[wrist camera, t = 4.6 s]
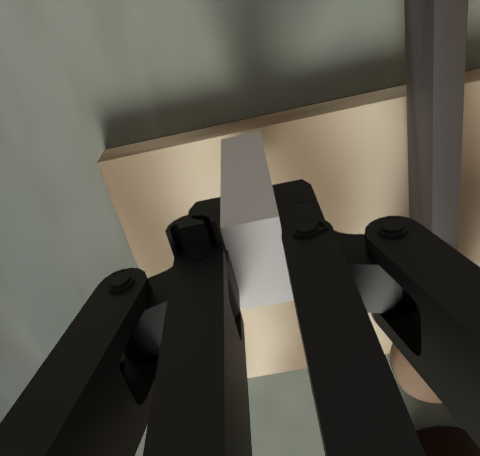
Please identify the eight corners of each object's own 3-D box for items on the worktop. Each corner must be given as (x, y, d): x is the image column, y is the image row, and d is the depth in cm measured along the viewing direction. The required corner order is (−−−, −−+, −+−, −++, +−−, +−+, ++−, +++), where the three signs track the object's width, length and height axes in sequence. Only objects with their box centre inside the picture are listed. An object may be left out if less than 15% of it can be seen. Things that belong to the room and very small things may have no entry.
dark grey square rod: (370, 342, 24) (397, 411, 20) (340, -2, 16) (378, 9, 12) (470, 324, 24) (517, 392, 20) (494, -38, 15) (581, -38, 12)
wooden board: (188, 368, 27) (186, 390, 26) (104, 149, 20) (96, 163, 19) (682, 280, 25) (710, 298, 24) (782, 2, 18) (829, 6, 17)
